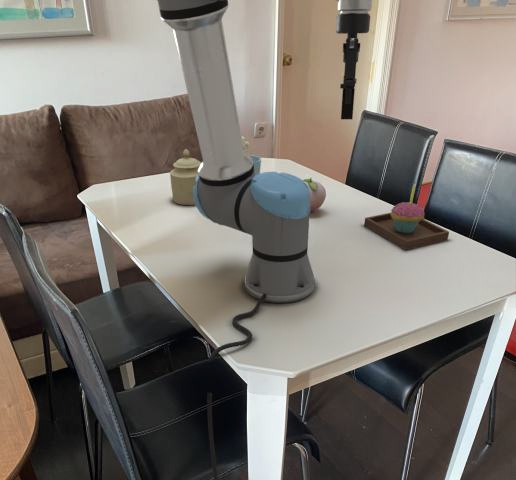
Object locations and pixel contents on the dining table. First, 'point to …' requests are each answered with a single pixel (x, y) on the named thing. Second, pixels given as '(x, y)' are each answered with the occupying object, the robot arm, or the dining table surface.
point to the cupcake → (407, 215)
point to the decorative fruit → (315, 193)
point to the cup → (256, 164)
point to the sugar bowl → (184, 179)
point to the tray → (419, 237)
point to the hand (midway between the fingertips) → (346, 115)
